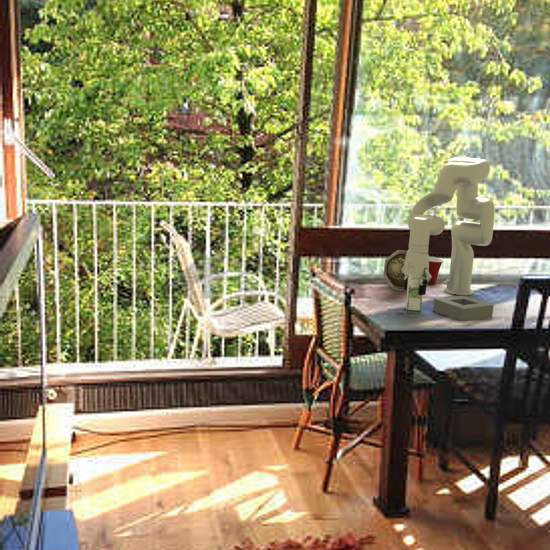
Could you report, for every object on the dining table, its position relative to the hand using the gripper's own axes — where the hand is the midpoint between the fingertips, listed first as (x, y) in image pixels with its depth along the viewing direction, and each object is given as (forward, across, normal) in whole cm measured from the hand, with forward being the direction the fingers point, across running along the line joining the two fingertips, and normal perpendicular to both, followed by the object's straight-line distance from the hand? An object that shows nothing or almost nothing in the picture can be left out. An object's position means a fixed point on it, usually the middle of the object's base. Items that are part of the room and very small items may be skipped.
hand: (414, 292), depth 303 cm
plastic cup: (+7, -35, +40) cm, 54 cm away
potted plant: (+7, -28, +17) cm, 34 cm away
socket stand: (+7, +13, +14) cm, 20 cm away
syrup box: (+7, 0, 0) cm, 7 cm away
